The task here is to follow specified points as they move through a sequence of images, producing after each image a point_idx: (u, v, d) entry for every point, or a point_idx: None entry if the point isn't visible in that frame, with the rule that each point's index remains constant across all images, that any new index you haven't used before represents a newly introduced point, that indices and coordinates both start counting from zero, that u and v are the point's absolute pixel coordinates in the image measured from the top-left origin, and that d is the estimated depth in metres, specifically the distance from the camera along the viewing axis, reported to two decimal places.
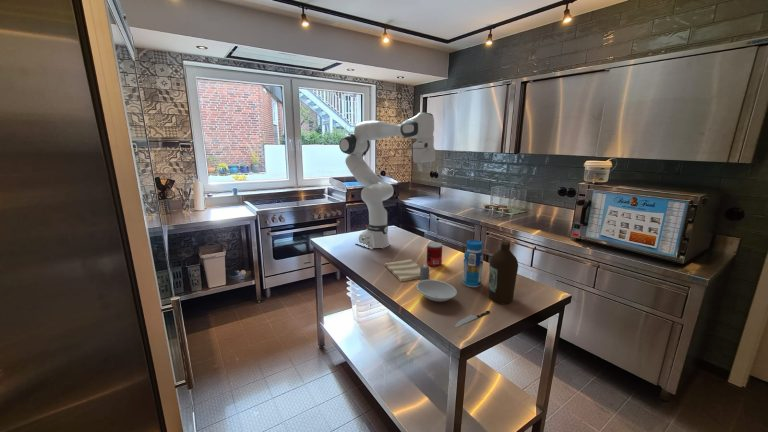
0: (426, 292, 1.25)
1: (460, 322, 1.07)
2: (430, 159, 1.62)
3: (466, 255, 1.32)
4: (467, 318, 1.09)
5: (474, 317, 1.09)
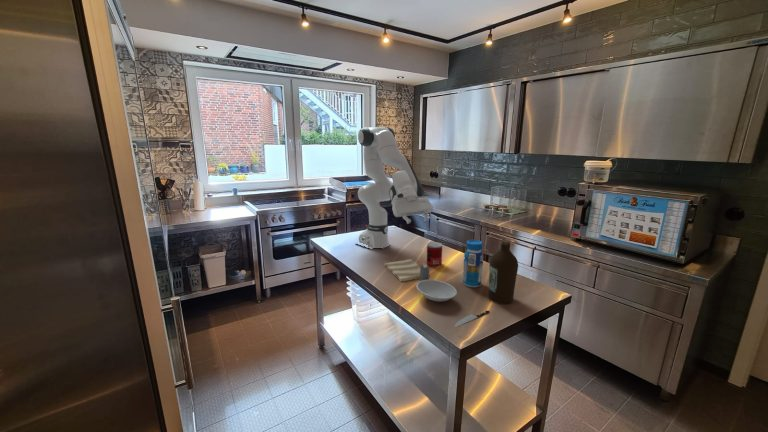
0: (426, 292, 1.25)
1: (460, 322, 1.07)
2: (422, 208, 1.44)
3: (466, 255, 1.32)
4: (467, 318, 1.09)
5: (474, 317, 1.09)
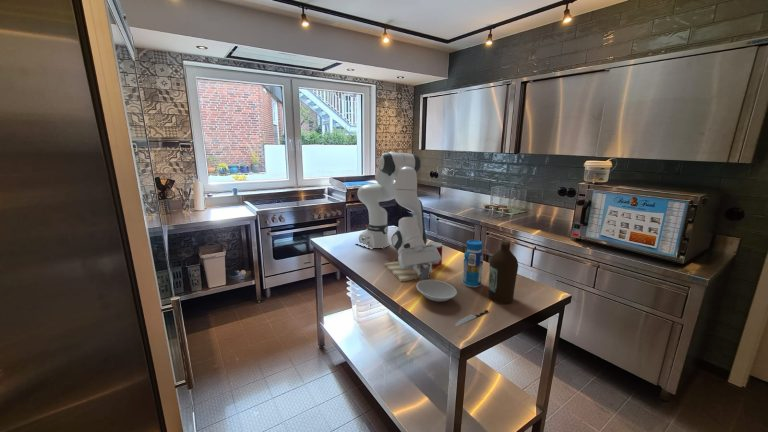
0: (426, 292, 1.25)
1: (459, 321, 1.07)
2: (429, 259, 1.37)
3: (466, 255, 1.32)
4: (466, 318, 1.09)
5: (473, 317, 1.10)
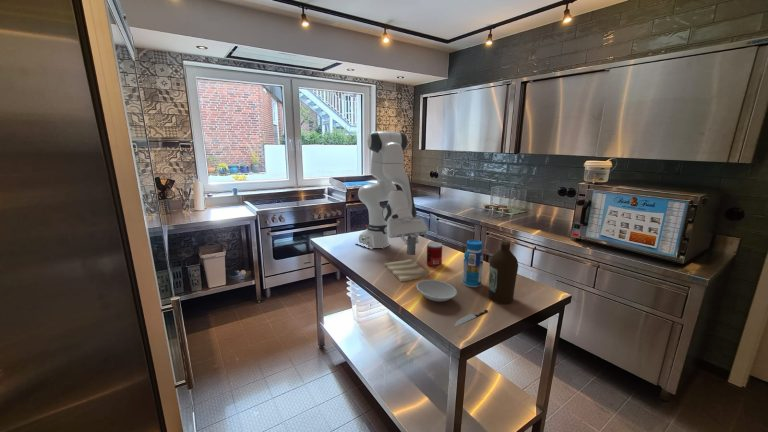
0: (426, 292, 1.25)
1: (459, 321, 1.07)
2: (416, 230, 1.43)
3: (466, 255, 1.32)
4: (466, 317, 1.09)
5: (473, 316, 1.10)
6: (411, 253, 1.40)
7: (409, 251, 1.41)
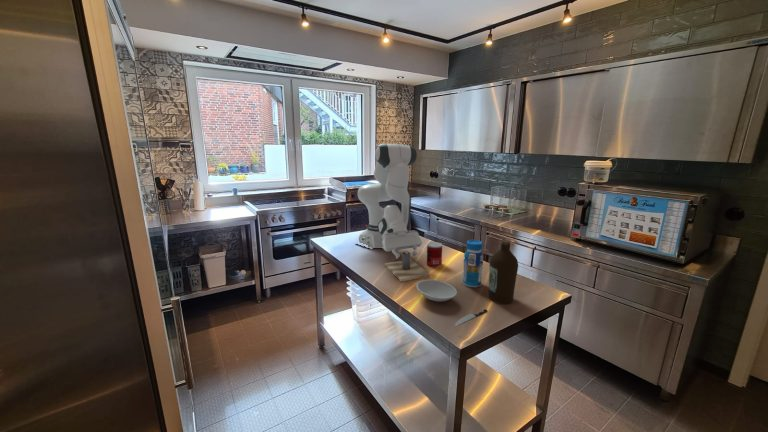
0: (426, 292, 1.25)
1: (459, 321, 1.07)
2: (411, 243, 1.50)
3: (466, 255, 1.32)
4: (465, 317, 1.10)
5: (472, 316, 1.10)
6: (406, 268, 1.48)
7: (404, 266, 1.48)
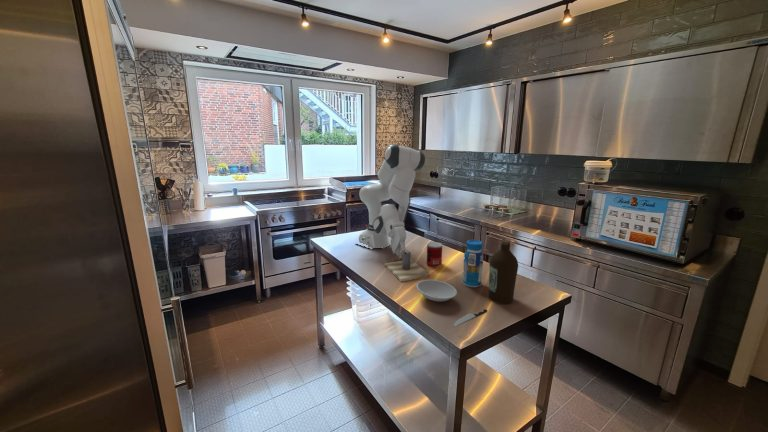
0: (426, 292, 1.25)
1: (459, 321, 1.07)
2: None
3: (466, 255, 1.32)
4: (465, 317, 1.10)
5: (472, 316, 1.10)
6: (406, 268, 1.48)
7: (404, 266, 1.48)
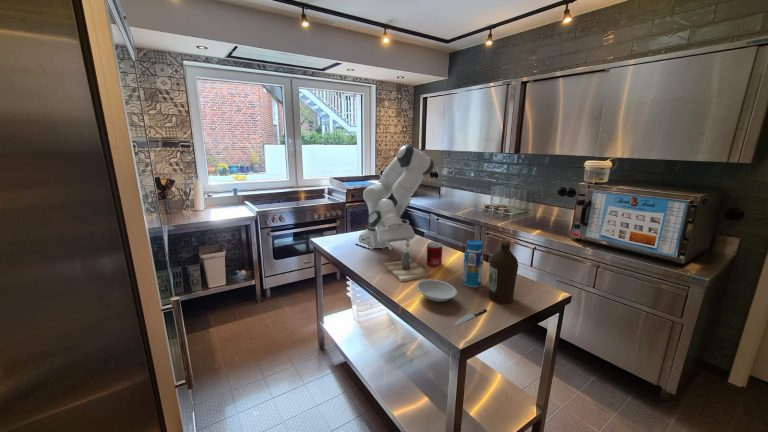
0: (426, 292, 1.25)
1: (458, 321, 1.07)
2: None
3: (466, 255, 1.32)
4: (465, 317, 1.10)
5: (472, 316, 1.10)
6: (406, 268, 1.48)
7: (404, 266, 1.48)
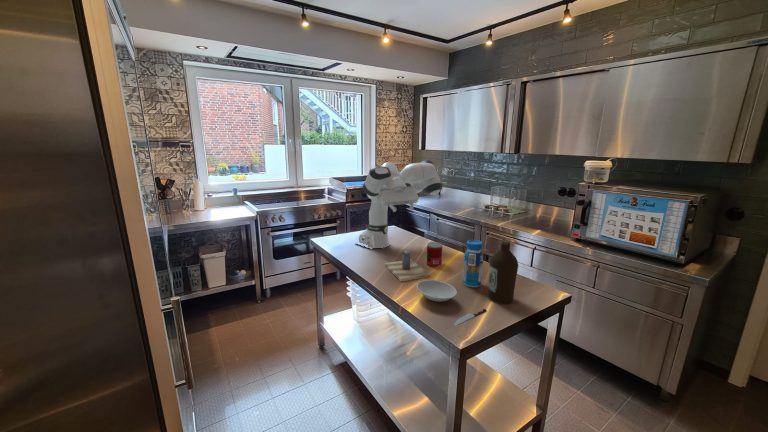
0: (426, 292, 1.25)
1: (458, 321, 1.08)
2: None
3: (466, 255, 1.32)
4: (465, 317, 1.10)
5: (471, 316, 1.10)
6: (406, 268, 1.48)
7: (404, 266, 1.48)
